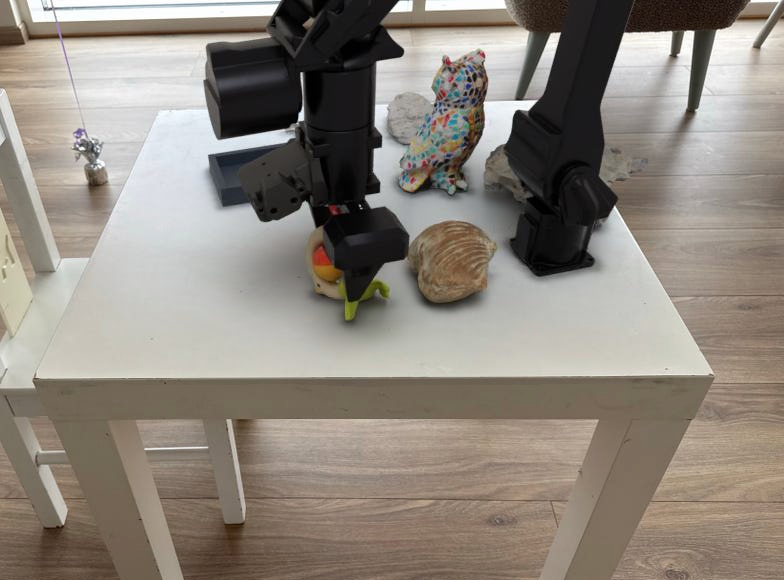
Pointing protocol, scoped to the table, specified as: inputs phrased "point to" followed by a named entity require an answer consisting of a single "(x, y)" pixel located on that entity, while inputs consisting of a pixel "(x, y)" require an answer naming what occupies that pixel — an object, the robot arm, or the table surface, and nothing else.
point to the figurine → (448, 127)
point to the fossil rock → (504, 178)
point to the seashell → (451, 260)
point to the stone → (406, 115)
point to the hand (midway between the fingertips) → (339, 274)
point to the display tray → (234, 171)
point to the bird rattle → (334, 273)
